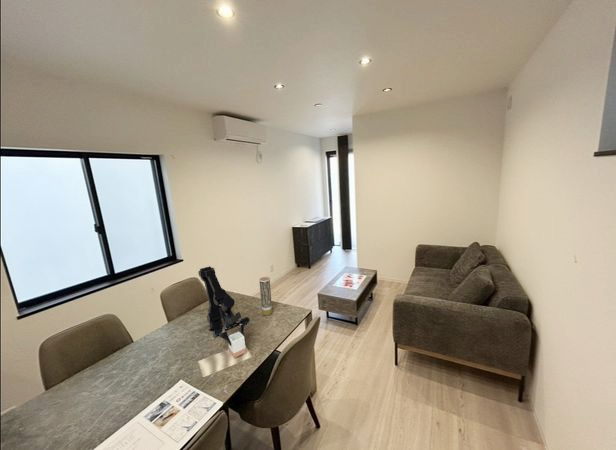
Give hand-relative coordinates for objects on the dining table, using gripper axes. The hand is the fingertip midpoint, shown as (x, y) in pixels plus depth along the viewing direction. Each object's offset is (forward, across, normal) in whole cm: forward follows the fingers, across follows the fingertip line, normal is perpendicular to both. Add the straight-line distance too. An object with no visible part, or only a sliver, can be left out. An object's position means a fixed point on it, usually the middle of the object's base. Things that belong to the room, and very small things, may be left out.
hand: (237, 342), depth 131 cm
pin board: (+4, -6, +7) cm, 11 cm away
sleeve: (+3, 0, +5) cm, 6 cm away
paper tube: (-14, +33, +26) cm, 44 cm away
